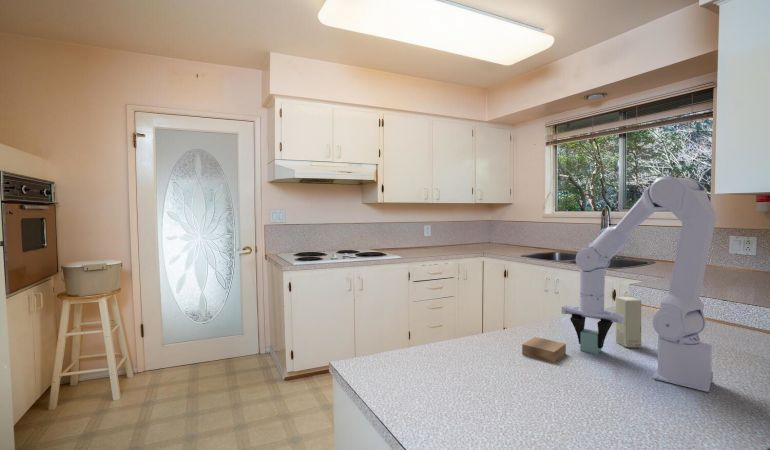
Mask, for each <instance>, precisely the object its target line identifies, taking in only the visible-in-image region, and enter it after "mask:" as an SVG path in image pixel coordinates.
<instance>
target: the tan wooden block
mask: <svg viewBox="0 0 770 450" xmlns="http://www.w3.org/2000/svg"><path fill="white" fill-rule="evenodd" d="M521 345H522V347H521V354H522V355H523V356H527V357H531V358H536V359H538V360H542V361H546V362H551V363H555V362H558V360H560V359H561V358H562V357H564V356H565V355H566V354H567V352H566V351H567V348H566V347H567V343H563V342H560V341H555V340H551V339H546V338H542V337H537V336H534V337H533V338H531V339H529V340H527V341H525V342H523V343H522V344H521Z"/></svg>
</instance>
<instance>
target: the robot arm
mask: <svg viewBox="0 0 770 450" xmlns="http://www.w3.org/2000/svg"><path fill="white" fill-rule="evenodd" d="M665 210H668V211H670V212H671V213H672V214H673V215H674V216H675V217H676V218H677V219H678V220H679V221H680V222H681V228H680V233H679V239H678V243H677V246H676V247H677V248H676V253H675V259H674V264H673V268H672V273H671V278H670V279H671V280H670V285H669V288H668V293H667V295H666V296H665V297H664V298H663V300H662V301H661V302H660V307H659V309H658V311H657V312H656V313H655V314H654V315H653V318H652V327H653V328H654V331H655V332H656V334H658V338H657V339H658V340H657V367H656V369H655V371H654V373H653V374H652V379H653V380H658V381H662V382H666V383H669V384H673V385H677V386H682V387H686V388H689V389H694V390H699V391H702V392H705V393H708V392H710V389H711V385H712V384H711V383H712V382H713V381H714V372H713V369H712V368H713V345H712V344H709V343H704V342H702V341H701V337H700V333H702V332H703V331H704V330H705V328H706V324H707V323H706V318H705V316H704V307H705V306H704V303H703V302H702V300H701V299H700V296H701V293H702V287H703V283H704V282H703V281H704V278H705V273H706V268H707V264H708V258H709V255H710V249H711V244H712V239H713V236H714V230H715V225H716V220H717V214H716V212H715V209H714V207H713V205H712V203H711V201H710V198H709V196H708V189H707V188H706V187H705V186H704V185H702V184H701V183H700V182H699V181H698V180H696V179H695V178H690V177H675V176H671V175H670V176H669V175H663V176H660V177H658V178H657V179H655V180H654V181H653V182H652V183H651V185H650V186H648V187H647V188H645V189H644V190H643V192H642V194H641V196H640V198H638V200H637V201H636V202H635V203H634V204H633V205H632V206H631V208H630V209H629V211H627V213H625V214H624V216H623V217H622V218H621V219H620V220H619V222H618V223H617V224H616V225H615V226H607V227H605V228H602V229H601V230H600V231H599V232H600V234H599V235H598V236H597V238H595V239H594V240H593V241H592V242H589V244H588V247H585V248H581V249H579V250H578V251H577V253H576V256H575V264H576V265H577V267H578V269H579V306H572V305H562V306H561V314H562V315H566V314H567V315H571V316H570V318H569V319H570V322H571V324H572V326H573V327H574V331H575V332H576V333H575V334H576V336H577V340H578V344H579V345H580V338H581V331H583V330H584V329H585V323H586V318H587V319H589V318H590V319H595V320H599V321H597V331H598V335H599V336H598V348H600V349H601V350H602V349H603V348H604V344H605V340H606V337H607V335H608V332H609V330H610V328H611V327H612V325H613V324H614V323H616V322H617V323H619V324H623V323H624V315H621V314H616V312H611V311H607V310H605V289H606V288H605V283H606V280H605V277H606V276H605V275H606V271H607V268H608V267H609V266H610V264H611V260H612V258H613V257H614V256H616V254H618V253H619V252H620V250H622V249H623V248H624V246H626V245H627V244H628V242H629V235H630V234H631V233H633V231H635V230H636V228H638V227H639V226H640V225H641V224H642V223H644V222H645V221H646V220H647V219H648V218H649V217H650V216H651V215H653V214H654V213H656V212H661V211H665Z"/></svg>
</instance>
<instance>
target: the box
mask: <svg viewBox="0 0 770 450" xmlns="http://www.w3.org/2000/svg"><path fill="white" fill-rule="evenodd" d="M615 313H616V314H621V315H624V323H623V324H619V323H617V322H615V343H617V344H619V345H621V346H623V347H625V348H642V300H641V299H638V298H636V297H635V298H634V297H631V296H616V297H615Z"/></svg>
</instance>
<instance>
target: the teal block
mask: <svg viewBox="0 0 770 450" xmlns="http://www.w3.org/2000/svg"><path fill="white" fill-rule="evenodd" d="M598 336H599V335H598V330H595V329H589V328H584V330H583V331H581V338H580V344H579V345H580V346H579V351H580V352H584V353H588V354H593V355H598V354H599V353H600V352H602V348H601V349H600V348H598Z"/></svg>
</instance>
